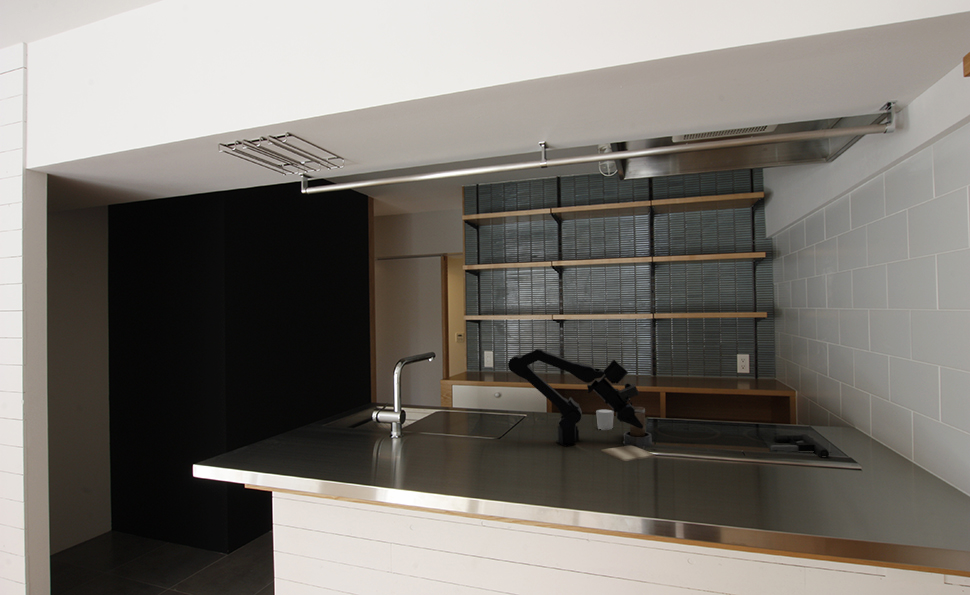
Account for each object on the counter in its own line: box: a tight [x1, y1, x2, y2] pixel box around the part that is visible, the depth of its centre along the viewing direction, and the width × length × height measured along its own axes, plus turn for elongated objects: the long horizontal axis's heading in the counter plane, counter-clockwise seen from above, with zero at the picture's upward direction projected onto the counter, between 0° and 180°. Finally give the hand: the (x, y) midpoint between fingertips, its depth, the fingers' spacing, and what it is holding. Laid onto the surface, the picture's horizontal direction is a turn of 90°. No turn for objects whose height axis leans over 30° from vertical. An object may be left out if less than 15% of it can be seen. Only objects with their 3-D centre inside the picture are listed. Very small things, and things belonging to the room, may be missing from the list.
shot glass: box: [595, 408, 615, 431], centre depth 206 cm, size 7×7×7 cm
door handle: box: [769, 433, 832, 457], centre depth 174 cm, size 3×20×16 cm
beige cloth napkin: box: [600, 445, 656, 462], centre depth 168 cm, size 12×12×2 cm
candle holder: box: [622, 430, 654, 448], centre depth 181 cm, size 10×10×4 cm
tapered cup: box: [629, 406, 646, 437], centre depth 181 cm, size 5×5×12 cm
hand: (641, 425), depth 181 cm, fingers open, 6 cm apart
